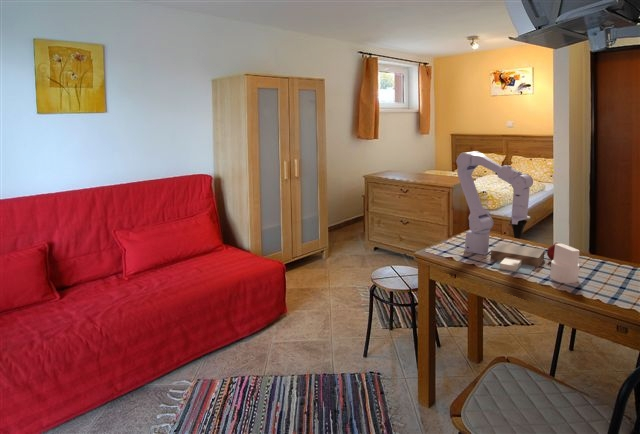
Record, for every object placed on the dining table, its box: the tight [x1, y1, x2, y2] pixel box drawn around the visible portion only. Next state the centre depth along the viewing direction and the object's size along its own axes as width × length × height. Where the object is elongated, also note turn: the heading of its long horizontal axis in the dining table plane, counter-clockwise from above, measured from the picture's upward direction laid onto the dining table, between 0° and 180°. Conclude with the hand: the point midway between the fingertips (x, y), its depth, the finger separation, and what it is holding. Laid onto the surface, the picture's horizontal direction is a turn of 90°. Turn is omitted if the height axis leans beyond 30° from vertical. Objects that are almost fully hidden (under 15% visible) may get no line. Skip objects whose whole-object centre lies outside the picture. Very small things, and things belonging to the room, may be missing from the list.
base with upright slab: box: [549, 243, 581, 284], centre depth 160 cm, size 9×9×12 cm
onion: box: [546, 242, 559, 261], centre depth 178 cm, size 6×6×8 cm
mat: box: [490, 260, 536, 276], centre depth 174 cm, size 14×10×1 cm
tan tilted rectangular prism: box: [500, 257, 522, 271], centre depth 174 cm, size 6×9×2 cm, turn 144°
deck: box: [490, 242, 546, 269], centre depth 183 cm, size 18×12×4 cm, turn 54°
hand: (517, 237), depth 179 cm, fingers closed
